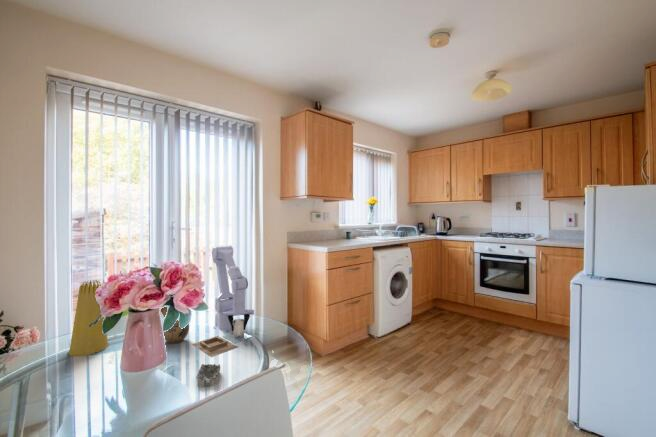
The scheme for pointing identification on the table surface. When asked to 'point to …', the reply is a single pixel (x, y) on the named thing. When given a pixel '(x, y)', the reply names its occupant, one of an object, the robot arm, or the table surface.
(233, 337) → the mat
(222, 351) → the tray
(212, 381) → the grey speckled lump
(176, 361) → the table surface
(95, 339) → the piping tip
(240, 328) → the jug
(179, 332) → the ceramic vessel
